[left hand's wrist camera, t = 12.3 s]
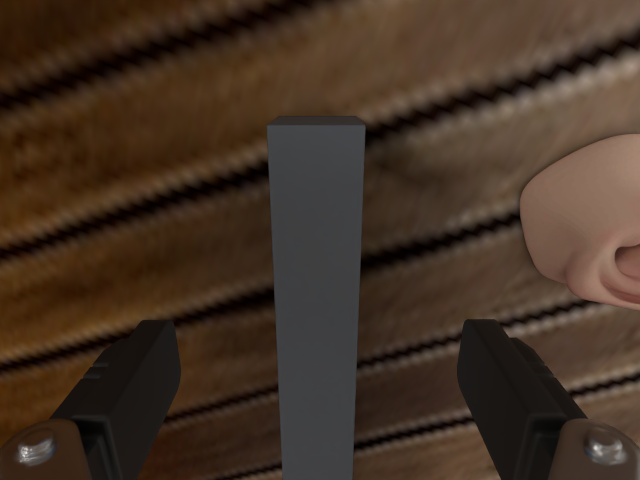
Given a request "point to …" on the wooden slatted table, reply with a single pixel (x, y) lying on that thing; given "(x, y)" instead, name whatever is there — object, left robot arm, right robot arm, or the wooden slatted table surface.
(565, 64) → the wooden slatted table surface
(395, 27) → the wooden slatted table surface
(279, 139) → the bar
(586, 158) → the anatomical model
